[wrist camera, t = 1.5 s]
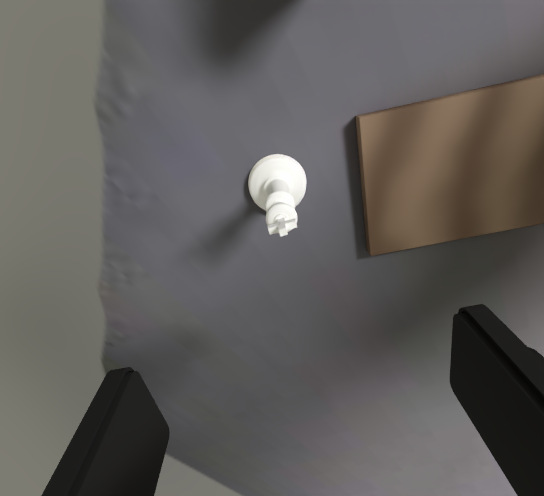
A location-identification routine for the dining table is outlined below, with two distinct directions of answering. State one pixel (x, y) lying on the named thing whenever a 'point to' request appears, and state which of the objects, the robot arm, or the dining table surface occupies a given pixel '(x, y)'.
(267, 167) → the chess piece
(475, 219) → the walnut board
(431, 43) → the dining table surface
